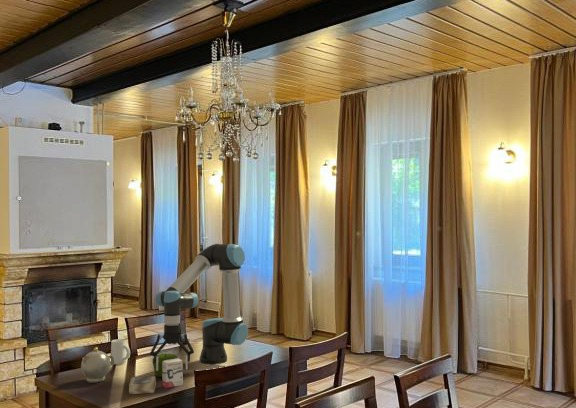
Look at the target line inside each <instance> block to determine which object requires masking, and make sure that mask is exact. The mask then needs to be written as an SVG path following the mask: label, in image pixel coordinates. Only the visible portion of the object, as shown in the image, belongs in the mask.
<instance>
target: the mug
mask: <svg viewBox="0 0 576 408" xmlns="http://www.w3.org/2000/svg"><path fill="white" fill-rule="evenodd" d="M110 350H111V351H110V354H111V355H112V356H113V358H114V365H122V364H126V363H127V360H128V359H129V358H130V356H131V349H130V347H129V346H128V345H127V339H124V338H118V339H112V340H111V345H110Z"/></svg>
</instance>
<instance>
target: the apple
mask: <svg viewBox="0 0 576 408" xmlns="http://www.w3.org/2000/svg"><path fill="white" fill-rule="evenodd" d="M157 355H158V371H156V363H154V357H153V358H152V365H153V371H154V374H155V375H154V376H157V377H159V378H162V361H165V360H170V359H177V358H178V356H177V355H176V354H174V353H158V354H157Z"/></svg>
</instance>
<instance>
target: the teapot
mask: <svg viewBox="0 0 576 408" xmlns="http://www.w3.org/2000/svg"><path fill="white" fill-rule="evenodd" d="M114 365H115V364H114V358H113V356H112V355H111V353H106V352H104V351H101V350H99V348H98V347H97V346H95V347H93V350H92V351H90V352H88V353H87V354H86V355H85V356H84V357H82V360H81V365H80V368H81V371H82V374H83V375H84V376H85V377H86V382H87V383H89V384H97V383H98V382H99V383H103V382H104V381H105V380H106V375H108V373H109V372H110V371H112V370H113V368H114ZM99 383H98V384H99Z"/></svg>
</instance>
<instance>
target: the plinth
mask: <svg viewBox="0 0 576 408" xmlns="http://www.w3.org/2000/svg"><path fill="white" fill-rule="evenodd" d="M156 376H157V375H149V376H148V375H146V376H134V377H133V376H132V377H131V379H130V381H129V384H128V394H129V395H136V394H137V395H139V394H154V393H155V390H156V385H157V381H156V380H157V379H156Z"/></svg>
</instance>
